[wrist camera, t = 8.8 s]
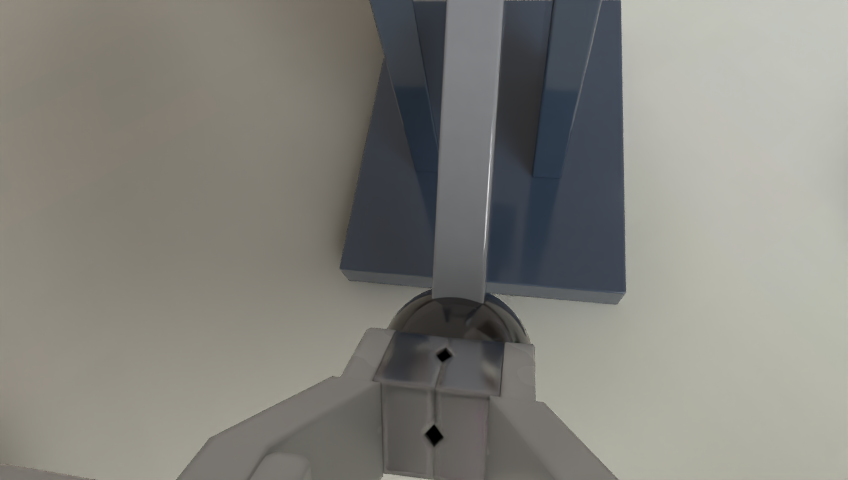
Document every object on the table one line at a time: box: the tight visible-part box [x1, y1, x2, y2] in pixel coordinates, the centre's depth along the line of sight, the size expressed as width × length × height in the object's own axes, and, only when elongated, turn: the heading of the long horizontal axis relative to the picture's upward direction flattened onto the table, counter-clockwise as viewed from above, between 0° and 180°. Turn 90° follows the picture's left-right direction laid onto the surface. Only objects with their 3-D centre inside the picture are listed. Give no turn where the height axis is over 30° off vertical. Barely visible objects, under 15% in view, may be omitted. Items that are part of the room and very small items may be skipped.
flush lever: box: [387, 0, 531, 369], centre depth 11 cm, size 14×3×3 cm
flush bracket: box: [340, 0, 626, 305], centre depth 14 cm, size 12×9×13 cm
